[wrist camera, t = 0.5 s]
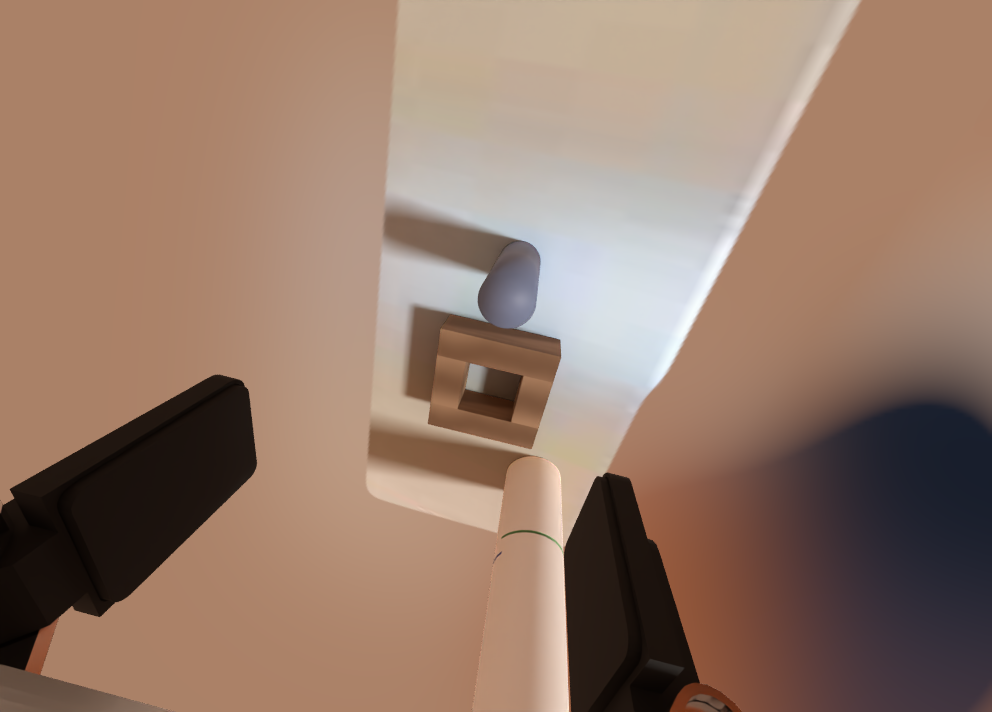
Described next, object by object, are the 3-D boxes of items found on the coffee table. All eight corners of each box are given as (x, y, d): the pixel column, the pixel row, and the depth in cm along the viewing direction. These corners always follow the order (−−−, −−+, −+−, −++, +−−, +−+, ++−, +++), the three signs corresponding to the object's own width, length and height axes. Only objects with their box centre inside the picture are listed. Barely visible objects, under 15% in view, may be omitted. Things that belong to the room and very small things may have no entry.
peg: (503, 236, 34) (483, 266, 24) (545, 246, 34) (542, 279, 24) (495, 277, 36) (473, 321, 26) (534, 286, 36) (528, 334, 25)
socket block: (450, 314, 39) (440, 328, 35) (560, 339, 38) (561, 357, 35) (437, 403, 44) (427, 423, 41) (533, 426, 44) (531, 449, 40)
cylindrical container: (497, 482, 49) (454, 738, 27) (521, 447, 46) (495, 706, 24) (543, 503, 50) (538, 770, 28) (571, 471, 46) (590, 744, 24)
